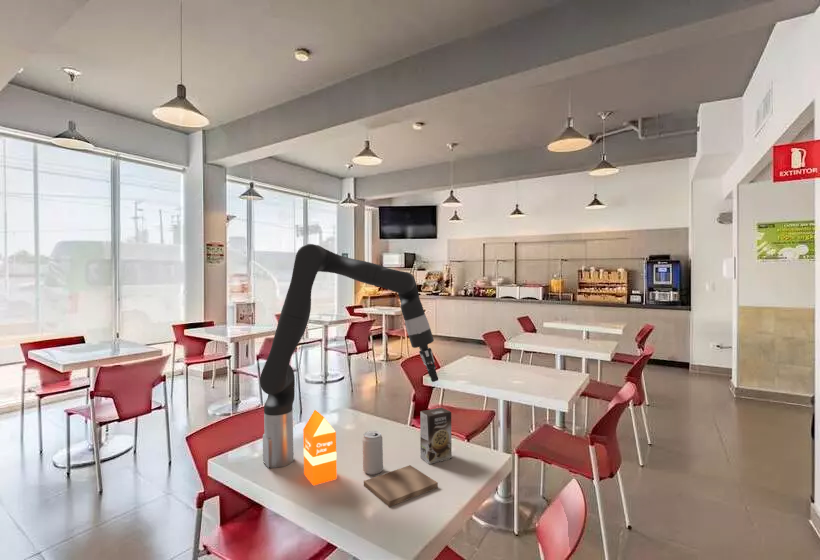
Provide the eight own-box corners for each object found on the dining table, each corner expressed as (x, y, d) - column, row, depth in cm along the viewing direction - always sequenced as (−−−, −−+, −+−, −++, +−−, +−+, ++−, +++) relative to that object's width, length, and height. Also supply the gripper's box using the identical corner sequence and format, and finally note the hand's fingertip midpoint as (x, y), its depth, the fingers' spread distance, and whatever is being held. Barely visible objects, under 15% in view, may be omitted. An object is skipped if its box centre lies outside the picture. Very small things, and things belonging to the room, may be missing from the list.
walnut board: (389, 507, 112) (389, 501, 112) (363, 486, 124) (363, 481, 124) (437, 487, 122) (437, 482, 122) (410, 469, 133) (410, 465, 133)
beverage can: (380, 476, 129) (379, 438, 129) (360, 475, 130) (359, 437, 130) (385, 467, 135) (384, 430, 135) (366, 465, 137) (365, 429, 137)
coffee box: (429, 464, 137) (428, 416, 136) (419, 457, 142) (419, 410, 142) (452, 458, 141) (452, 411, 141) (442, 451, 147) (441, 406, 146)
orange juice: (312, 485, 124) (311, 419, 124) (303, 474, 132) (302, 411, 131) (337, 478, 128) (336, 414, 128) (327, 467, 136) (326, 406, 136)
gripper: (406, 332, 142) (421, 377, 142) (409, 336, 128) (424, 386, 128) (427, 325, 142) (441, 370, 142) (432, 329, 128) (447, 379, 128)
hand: (433, 378), depth 135 cm, fingers open, 8 cm apart
